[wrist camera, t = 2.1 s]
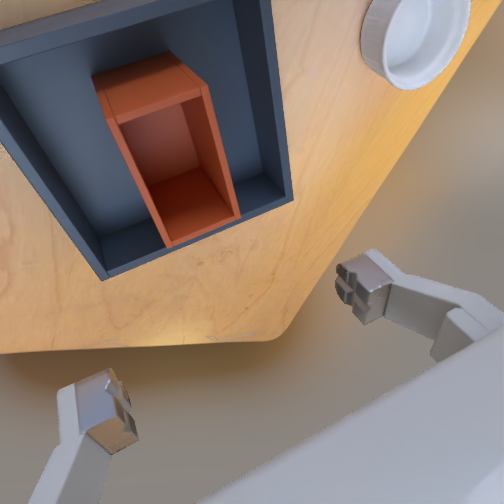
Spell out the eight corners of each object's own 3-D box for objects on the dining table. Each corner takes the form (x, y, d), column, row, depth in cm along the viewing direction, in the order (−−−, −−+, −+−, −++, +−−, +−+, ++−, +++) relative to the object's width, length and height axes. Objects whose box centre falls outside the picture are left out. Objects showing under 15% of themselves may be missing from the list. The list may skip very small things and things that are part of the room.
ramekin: (384, 95, 38) (413, 108, 35) (336, 41, 32) (365, 52, 29) (447, 13, 35) (484, 20, 32) (406, -62, 30) (447, -62, 26)
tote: (169, 50, 27) (207, 84, 21) (205, 166, 34) (241, 218, 28) (90, 75, 26) (105, 119, 20) (143, 190, 33) (167, 249, 27)
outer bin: (232, -37, 26) (267, -33, 22) (267, 172, 38) (294, 200, 34) (-39, 41, 23) (-58, 63, 19) (94, 242, 35) (101, 282, 31)
